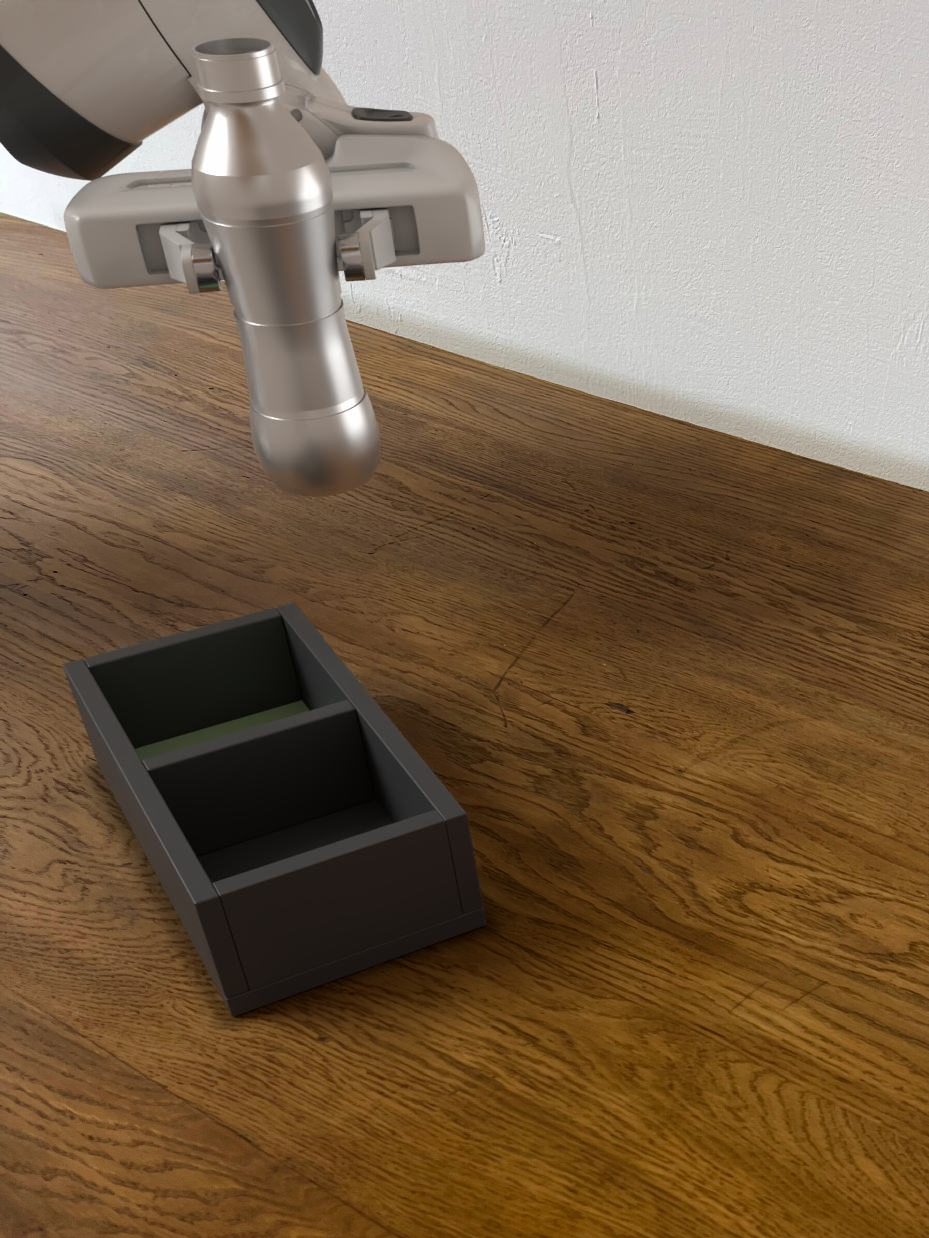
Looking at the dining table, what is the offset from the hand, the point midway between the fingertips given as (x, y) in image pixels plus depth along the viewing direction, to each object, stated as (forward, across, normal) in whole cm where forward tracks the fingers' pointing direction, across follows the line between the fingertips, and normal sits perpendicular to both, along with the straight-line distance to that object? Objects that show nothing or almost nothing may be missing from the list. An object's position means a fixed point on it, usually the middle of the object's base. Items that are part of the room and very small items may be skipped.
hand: (280, 269), depth 75 cm
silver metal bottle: (-1, 0, +11) cm, 11 cm away
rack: (+19, -4, +20) cm, 27 cm away
